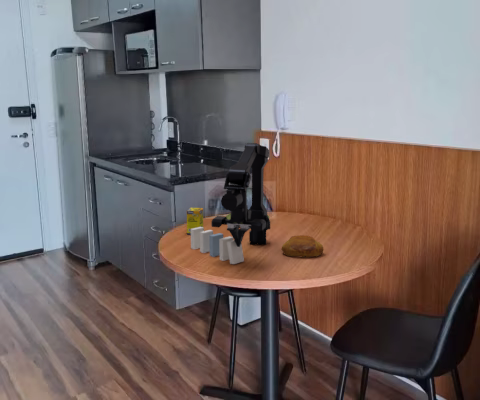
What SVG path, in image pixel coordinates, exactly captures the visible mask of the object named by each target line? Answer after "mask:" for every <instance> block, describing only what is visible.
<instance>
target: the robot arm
mask: <svg viewBox="0 0 480 400" xmlns="http://www.w3.org/2000/svg"><path fill="white" fill-rule="evenodd" d="M269 158H270V150H269V147H267V146H265V145H260V144H259V143H258V142H257V143H256V142H247V143H245V144H244V149H243V151H242V153H241V156H240V157H239V159H238V161H237V162H236V163H235V164H233V165H231V166H230V168H229V169H228V170H227V172H226V177H225V180H224V185H223V189H224V190H226V193H225V194H223V196H222V197H221V200H220V205H221V206H222V208H223V209H225V210H226V211H229V212H230V213H231V219H230V220H228V219H227V217H226V216H224V215H217V216H215V217H213V218H212V219H211V223H210V225H211V228H221V226H222V225H226V226H227V228H226V231H229V233H230V236H231V237H233V240H235V243H236V245H237V247H240V245H241V243H242V242H243V240H244V236H245V234H246V233H247V232H248V231H249V232H248V233H249V234H248V236H249V238H248V239H249V243H250V245H264V246H265V245H267V241H268V240H267V231H268V230H271V221H270V220H271V219H270V218H269V217H270V216H269V214H268V209H267V208H266V207H265V204H264V168H265V167H266V164H267V163H268V161H269ZM250 169H251V172H250ZM250 184H251V204H250V205H251V206H250V207H248V202H247V199H248V196H247V195H248V194H247V193H248V192H247V191H248V188H249V187H250ZM268 216H269V217H268ZM242 223H243V224H242Z"/></svg>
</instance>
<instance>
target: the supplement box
mask: <svg viewBox="0 0 480 400" xmlns="http://www.w3.org/2000/svg"><path fill="white" fill-rule="evenodd" d="M197 227H203V228H204V208H203V207H189V208H188V209H187V210H186V235H189V236H191V229H193V228H197Z"/></svg>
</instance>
